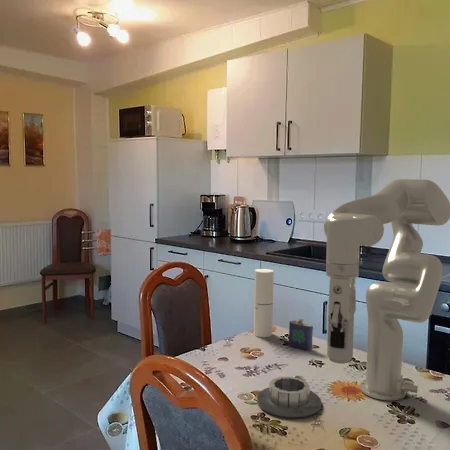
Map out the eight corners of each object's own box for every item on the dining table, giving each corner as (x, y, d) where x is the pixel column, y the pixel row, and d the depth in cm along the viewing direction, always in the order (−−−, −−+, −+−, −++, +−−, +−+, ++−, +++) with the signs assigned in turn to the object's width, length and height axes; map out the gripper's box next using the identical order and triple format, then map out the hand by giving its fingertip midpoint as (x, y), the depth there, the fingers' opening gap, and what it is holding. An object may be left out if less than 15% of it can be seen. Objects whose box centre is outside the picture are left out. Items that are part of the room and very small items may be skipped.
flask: (313, 349, 171) (314, 320, 169) (309, 352, 168) (310, 322, 167) (290, 343, 176) (291, 315, 175) (286, 346, 174) (287, 317, 173)
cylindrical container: (266, 338, 182) (268, 273, 179) (250, 335, 185) (251, 271, 183) (275, 333, 188) (276, 270, 185) (258, 330, 191) (260, 268, 189)
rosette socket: (327, 396, 134) (328, 378, 133) (312, 424, 118) (312, 404, 118) (269, 385, 141) (269, 367, 140) (247, 410, 125) (248, 391, 125)
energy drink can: (357, 359, 116) (359, 299, 114) (343, 366, 112) (344, 303, 110) (336, 352, 120) (338, 294, 119) (321, 359, 116) (323, 298, 115)
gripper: (352, 278, 104) (349, 358, 106) (364, 264, 120) (361, 333, 122) (317, 275, 107) (316, 352, 110) (333, 261, 123) (332, 329, 125)
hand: (340, 342), depth 116 cm, fingers closed on energy drink can, 6 cm apart
